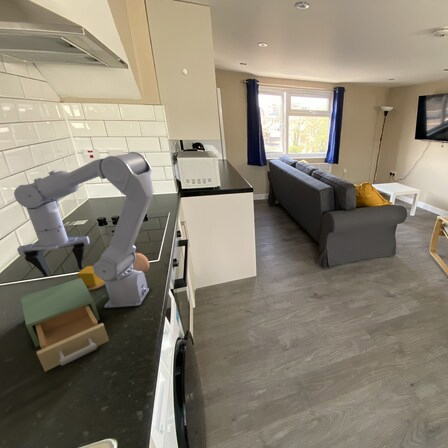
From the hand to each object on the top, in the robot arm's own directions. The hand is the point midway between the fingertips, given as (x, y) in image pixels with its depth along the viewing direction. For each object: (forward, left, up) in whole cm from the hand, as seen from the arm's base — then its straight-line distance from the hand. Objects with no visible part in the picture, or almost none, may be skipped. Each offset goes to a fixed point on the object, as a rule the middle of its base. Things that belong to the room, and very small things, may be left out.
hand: (64, 271), depth 75 cm
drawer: (-12, +20, -8) cm, 25 cm away
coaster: (-2, -8, -9) cm, 12 cm away
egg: (-14, -11, -10) cm, 20 cm away
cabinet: (-3, +9, -9) cm, 13 cm away
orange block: (-2, -8, -9) cm, 12 cm away
